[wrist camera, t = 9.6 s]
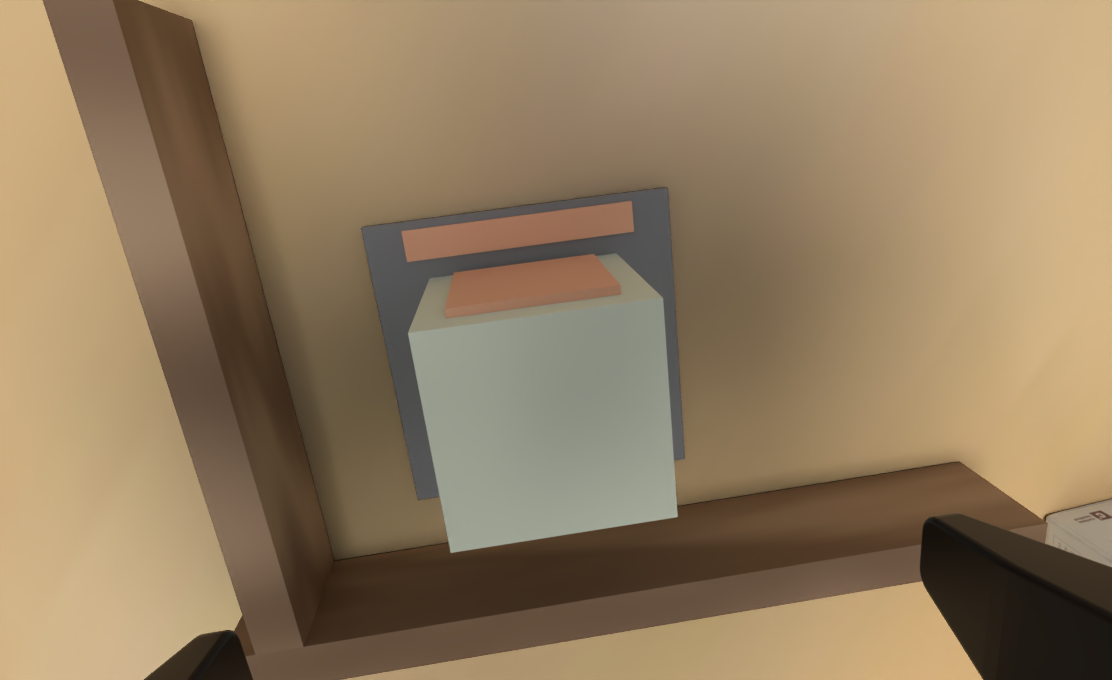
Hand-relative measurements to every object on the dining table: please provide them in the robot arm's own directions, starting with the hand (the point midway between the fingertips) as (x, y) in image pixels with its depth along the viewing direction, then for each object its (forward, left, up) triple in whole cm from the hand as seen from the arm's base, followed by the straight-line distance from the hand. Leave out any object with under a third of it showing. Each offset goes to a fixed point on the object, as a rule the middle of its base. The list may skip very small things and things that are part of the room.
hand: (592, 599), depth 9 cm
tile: (0, 0, -11) cm, 11 cm away
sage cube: (0, 0, -10) cm, 10 cm away
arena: (0, -2, -11) cm, 11 cm away
